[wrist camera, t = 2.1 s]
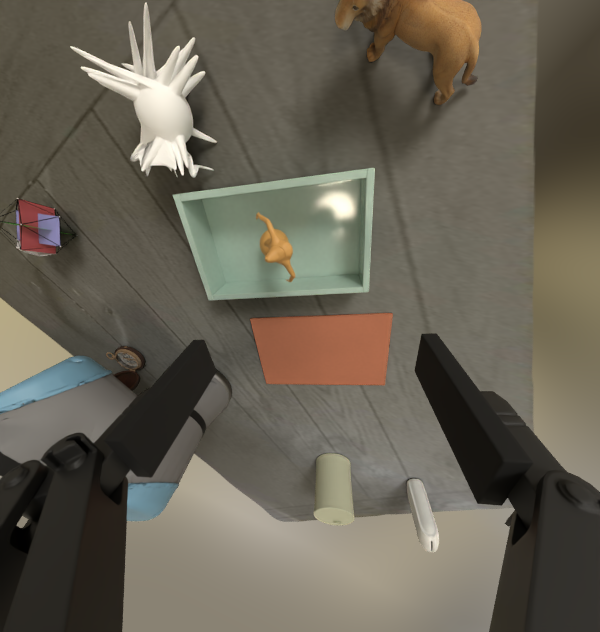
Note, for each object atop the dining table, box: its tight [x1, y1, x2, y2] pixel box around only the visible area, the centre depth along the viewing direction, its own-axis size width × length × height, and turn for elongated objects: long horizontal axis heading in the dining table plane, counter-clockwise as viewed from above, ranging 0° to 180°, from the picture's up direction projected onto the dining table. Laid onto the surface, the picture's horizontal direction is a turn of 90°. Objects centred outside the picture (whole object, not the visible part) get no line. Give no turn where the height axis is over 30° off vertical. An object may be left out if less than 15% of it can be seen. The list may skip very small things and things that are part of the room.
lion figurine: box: [335, 0, 481, 105], centre depth 18 cm, size 15×5×9 cm, turn 73°
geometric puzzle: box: [0, 198, 78, 256], centre depth 32 cm, size 7×7×8 cm
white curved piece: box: [407, 479, 439, 552], centre depth 56 cm, size 10×4×12 cm, turn 14°
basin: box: [173, 168, 375, 300], centre depth 29 cm, size 23×14×5 cm, turn 96°
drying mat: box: [250, 313, 393, 385], centre depth 41 cm, size 24×16×1 cm, turn 96°
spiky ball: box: [70, 3, 217, 178], centre depth 23 cm, size 11×12×8 cm
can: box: [314, 453, 354, 525], centre depth 54 cm, size 9×9×12 cm
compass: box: [106, 346, 145, 391], centre depth 45 cm, size 8×8×7 cm
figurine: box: [255, 212, 295, 282], centre depth 26 cm, size 8×6×12 cm
